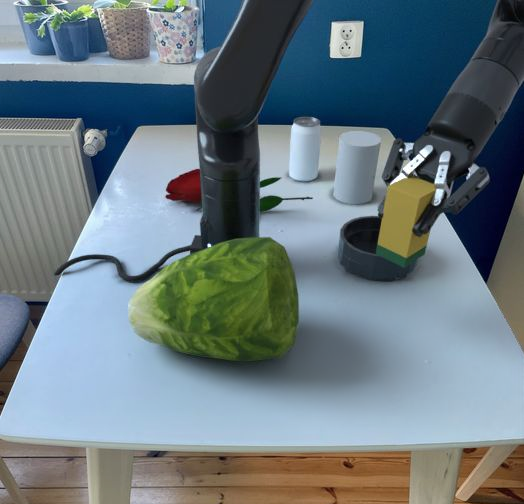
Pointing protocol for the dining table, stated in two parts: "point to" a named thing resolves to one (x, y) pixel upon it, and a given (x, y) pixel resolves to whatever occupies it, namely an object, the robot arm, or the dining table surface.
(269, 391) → the dining table surface
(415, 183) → the sponge
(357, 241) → the bowl
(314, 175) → the can
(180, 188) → the flower
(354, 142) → the light grey cylinder
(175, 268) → the lettuce
